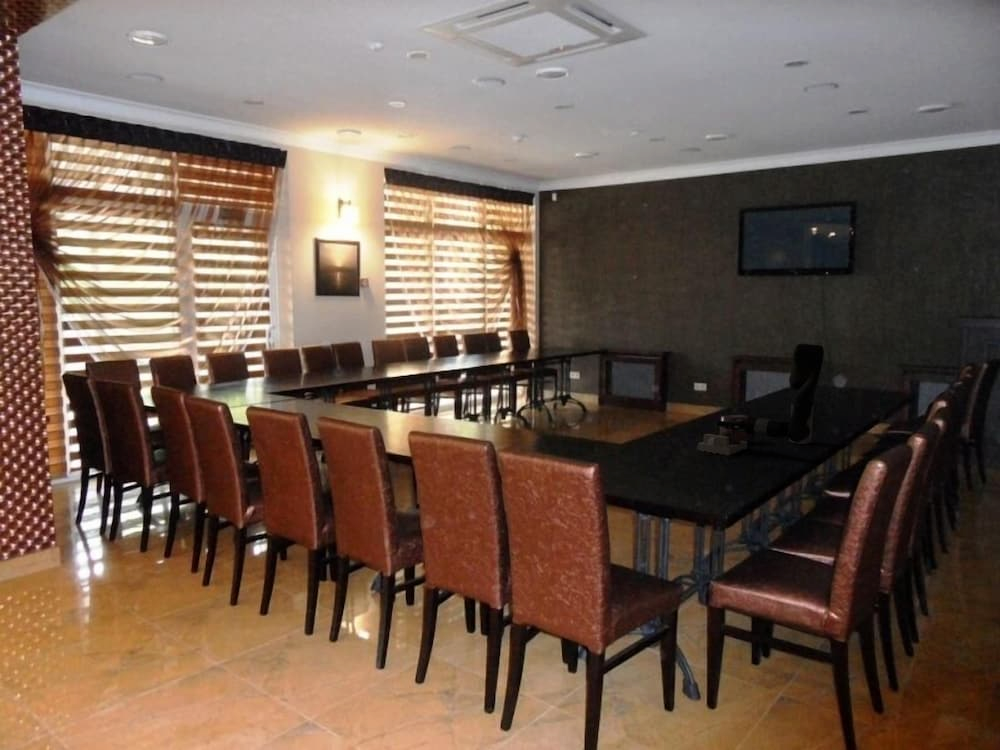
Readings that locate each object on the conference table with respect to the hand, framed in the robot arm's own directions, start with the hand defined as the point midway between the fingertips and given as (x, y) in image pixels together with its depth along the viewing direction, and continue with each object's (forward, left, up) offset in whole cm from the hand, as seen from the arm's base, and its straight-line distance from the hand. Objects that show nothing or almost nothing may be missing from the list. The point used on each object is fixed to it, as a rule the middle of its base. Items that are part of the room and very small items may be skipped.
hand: (721, 421), depth 313 cm
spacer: (0, +2, -8) cm, 8 cm away
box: (-18, -1, -12) cm, 21 cm away
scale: (+2, +2, -12) cm, 12 cm away
